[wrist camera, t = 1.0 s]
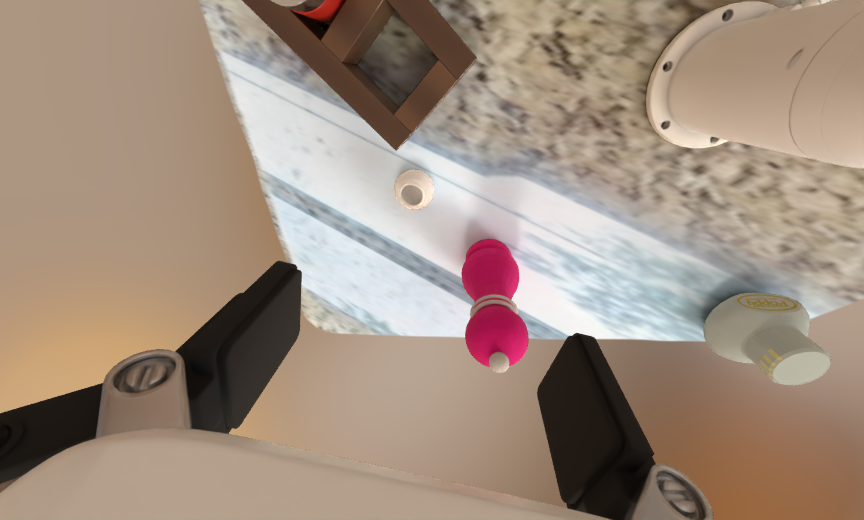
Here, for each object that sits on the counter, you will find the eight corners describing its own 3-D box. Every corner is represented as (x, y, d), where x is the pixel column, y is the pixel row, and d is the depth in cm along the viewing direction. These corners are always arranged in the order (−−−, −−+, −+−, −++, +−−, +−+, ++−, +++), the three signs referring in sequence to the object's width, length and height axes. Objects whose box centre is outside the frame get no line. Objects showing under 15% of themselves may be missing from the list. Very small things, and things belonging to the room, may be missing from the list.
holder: (315, -129, 28) (287, -167, 24) (476, 60, 34) (476, 58, 30) (254, -6, 33) (222, -19, 29) (404, 143, 39) (395, 151, 34)
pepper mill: (454, 246, 45) (443, 351, 27) (503, 227, 43) (527, 327, 25) (474, 287, 48) (476, 405, 30) (522, 270, 45) (554, 388, 28)
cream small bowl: (432, 167, 40) (392, 170, 40) (429, 173, 37) (387, 176, 38) (436, 206, 42) (398, 208, 43) (433, 214, 40) (394, 216, 40)
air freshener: (686, 336, 48) (734, 392, 39) (703, 289, 44) (760, 341, 35) (769, 336, 46) (838, 394, 38) (794, 288, 43) (878, 341, 34)
